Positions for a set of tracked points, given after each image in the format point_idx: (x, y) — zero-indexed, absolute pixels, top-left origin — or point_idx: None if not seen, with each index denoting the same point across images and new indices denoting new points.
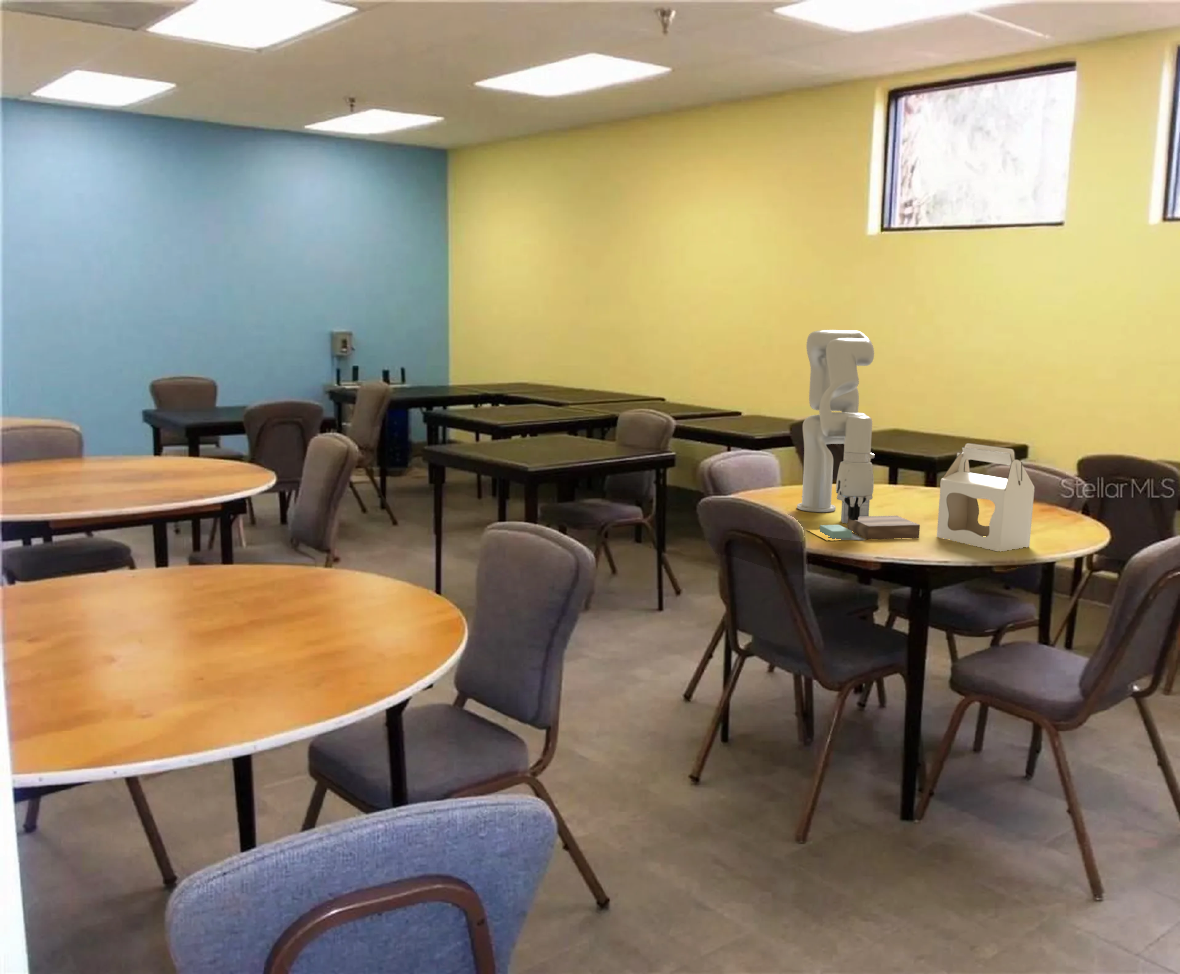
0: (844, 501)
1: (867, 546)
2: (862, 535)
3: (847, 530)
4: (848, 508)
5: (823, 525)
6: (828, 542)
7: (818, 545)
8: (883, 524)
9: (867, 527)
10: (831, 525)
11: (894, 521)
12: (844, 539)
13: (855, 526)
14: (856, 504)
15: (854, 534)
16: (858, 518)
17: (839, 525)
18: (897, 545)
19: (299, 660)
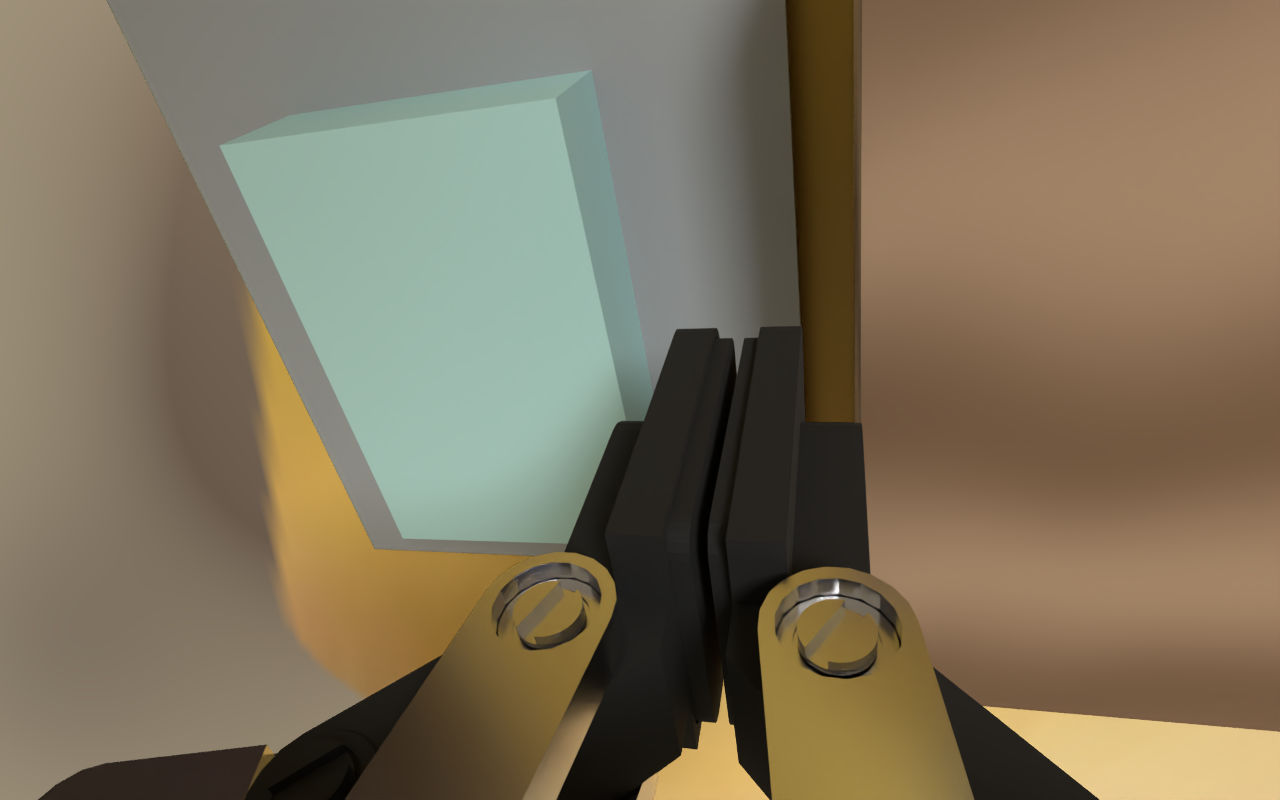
0: (362, 704)
1: (720, 726)
2: None
3: None
4: (576, 550)
5: (277, 167)
6: (397, 569)
7: (313, 633)
8: (1222, 652)
9: None
10: (410, 175)
11: None
12: (561, 543)
13: (856, 238)
14: (746, 769)
15: (781, 325)
16: (1075, 45)
17: (555, 177)
18: (1049, 758)
19: None
